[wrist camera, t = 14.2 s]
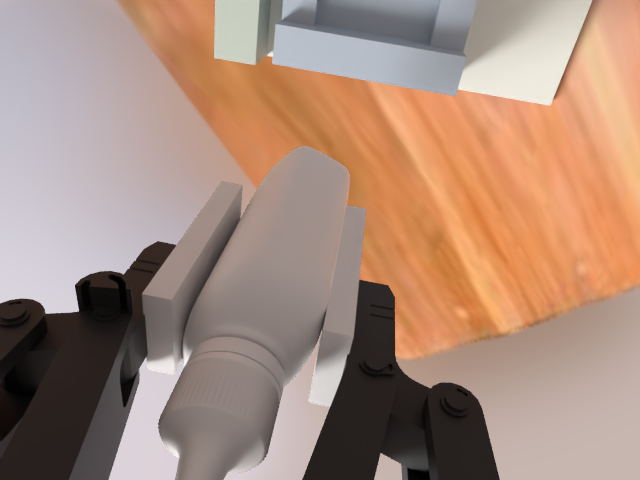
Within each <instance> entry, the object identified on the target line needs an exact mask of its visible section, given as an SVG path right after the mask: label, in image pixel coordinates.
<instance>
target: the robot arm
mask: <svg viewBox="0 0 640 480" xmlns="http://www.w3.org/2000/svg"><path fill="white" fill-rule="evenodd" d="M241 200H242V185H239V184H234V183H228V182H224V181H222V182H221V183H220V185H219V186H218V188H217V189H216V190H215V192H214V193H213V195H212V196H211V197H210V199H209V200H208V202H207V203H206V205H205V206H204V207H203V209H202V210H201V211H200V213H199V214H198V216H197V217H196V219H195V220H194V222H193V223H192V224H191V225H190V227H189V228H188V230H187V231H186V233H185V234H184V235H183V237H182V238H181V240H180V241H179V242H178V244H177V245H174V244H168V243H164V242H159V241H158V242H156V243H154V244H152V245H150V246H149V247H147V248H145V249H144V250H143V251H142V252H141V254H140V255H139V256H138V257H137V259H136V261H134V262H133V264H132V265H131V266H130V269H128V270H127V271H126V273H125V274H124V275H123V274H121V273H117V272H112V271H104V272H97V273H94V274H90V275H88V276H86V277H84V278H82V279H80V281H79V282H78V283H77V284H76V285H75V288H76V295H77V301H78V306H79V312H73V313H55V314H45V309H44V308H43V306H42V305H41V304H40V303H39V302H36V301H34V300H31V299H15V300H9V301H6V302H3V303H1V304H0V480H108V479H109V476H110V472H111V470H112V466H113V463H114V460H115V457H116V454H117V451H118V447H119V444H120V441H121V438H122V434H123V432H124V428H125V425H126V422H127V419H128V416H129V413H130V410H131V406H132V403H133V400H134V397H135V394H136V391H137V387H138V384H139V368H140V366H141V364H142V363H143V361H144V359H145V358H146V357H147V369H148V370H152V371H157V372H161V373H166V374H171V375H174V374H175V372H176V370H177V368H178V366H179V364H180V362H181V360H182V358H183V355H182V345H183V337H184V332H185V327H186V324H187V321H188V318H189V315H190V313H191V310H192V308H193V306H194V304H195V302H196V300H197V298H198V296H199V294H200V292H201V291H202V289H203V287H204V285H205V283H206V281H207V279H208V278H209V276H210V274H211V272H212V270H213V268H214V267H215V265H216V263H217V261H218V259H219V257H220V256H221V254H222V252H223V250H224V248H225V246H226V245H227V243H228V241H229V239H230V237H231V235H232V234H233V232H234V230H235V228H236V226H237V225H238V223H239V221H240V215H241ZM365 216H366V209H364V208H359V207H354V206H349V205H346V211H345V217H344V223H343V228H342V234H341V240H340V245H339V251H338V257H337V262H336V268H335V274H334V279H333V284H332V289H331V294H330V299H329V302H328V305H327V310H326V315H325V320H324V324H323V328H322V331H321V336H320V341H319V347H318V352H317V357H316V363H315V368H314V374H313V379H312V385H311V390H310V396H309V402H308V403H313V404H318V405H323V406H328V407H330V409H329V412H328V414H327V417H326V419H325V422H324V425H323V427H322V430H321V433H320V435H319V438H318V440H317V443H316V446H315V448H314V451H313V453H312V456H311V459H310V461H309V464H308V466H307V469H306V472H305V474H304V477H303V479H302V480H374V477H375V473H376V468H377V465H378V461H379V457H380V453H382V454H384V455H386V456H388V457H390V458H391V459H393V460H395V461H397V462H399V463H401V465H402V480H500V479H499V475H498V471H497V467H496V463H495V459H494V455H493V451H492V447H491V443H490V439H489V434H488V430H487V426H486V423H485V418H484V415H483V411H482V408H481V405H480V403H479V401H478V399H477V398H476V397H475V396H474V395H473V394H472V393H471V392H470V391H468V390H467V389H465V388H463V387H462V386H460V385H457V384H453V383H439V384H437V385H434V386H433V387H432V388H431V389H430V388H428V387H426V386H424V385H422V384H420V383H418V382H416V381H414V380H412V379H411V378H409V377H408V376H407V375H405V374H404V373H403V371H402V370H401V369H400V368H399V366H398V364H397V362H396V357H395V321H394V320H395V311H394V310H395V297H394V295H393V293H392V291H391V290H390V288H389V286H388V285H383V284H378V283H373V282H368V281H363V280H359V277H360V267H361V257H362V246H363V236H364V226H365Z"/></svg>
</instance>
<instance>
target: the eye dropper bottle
mask: <svg viewBox="0 0 640 480" xmlns="http://www.w3.org/2000/svg"><path fill="white" fill-rule="evenodd" d="M349 187H350V175H349V172H348V169H347V168H346V167H345V166H344V165H342V164H341V163H339V162H337V161H336V160H334V159H332V158H330V157H329V156H327V155H325V154H323V153H321V152H319V151H317V150H316V149H314V148H311V147H307V146H301V147H297V148H295V149H294V150H292V151H291V152H289V153H288V154H287V155H286V156H284V157H283V158H282V159H281V160H280V161H279V162H278V163H277V164H276V165H275V166H274V167H273V168H272V169H271V170H270V171H269V172H268V173H267V175H266V176H265V177H264V179H263V180H262V182H261V183H260V185H259V186H258V188H257V190H256V192H255V193H254V196H253V197H252V199H251V201H250V203H249V204H248V206H247V208H246V210H245V212H244V214H243V216H242V217H241V219H240V221H239V223H238V225H237V226H236V228H235V230H234V232H233V234H232V235H231V237H230V239H229V241H228V243H227V245H226V246H225V248H224V250H223V252H222V254H221V256H220V257H219V259H218V261H217V263H216V265H215V267H214V268H213V270H212V272H211V274H210V276H209V278H208V279H207V281H206V283H205V285H204V287H203V289H202V291H201V292H200V294H199V296H198V298H197V300H196V302H195V304H194V306H193V308H192V310H191V313H190V315H189V318H188V321H187V324H186V327H185V332H184V337H183V345H182V355H183V364H184V369H183V371H182V373H181V375H180V377H179V379H178V381H177V384H176V385H175V388H174V390H173V392H172V394H171V396H170V398H169V400H168V402H167V404H166V406H165V408H164V410H163V412H162V414H161V416H160V419H159V423H158V425H159V427H158V428H159V433H160V436H161V439H162V441H163V443H164V444H165V446H166V447H167V448H168V450H169V451H170V452H171V453H172V454H173V455H175V456H176V457H177V458H178V459H179V462H178V469H177V473H176V478H175V480H223V479H224V478H225V476H226V474H236V473H241V472H245V471H248V470H250V469H252V468H254V467H256V466H257V465H259V464H260V463H261V462H262V461H263V460H264V458H265V457H266V455H267V453H268V449H269V445H270V441H271V437H272V433H273V429H274V424H275V420H276V416H277V412H278V408H279V404H280V400H281V396H282V391H283V388H284V386H286V385H287V384H288V383H289V382H290V381H291V380H292V379H293V378H294V377H295V376H296V375H297V374H298V372H299V371H300V370H301V369H302V367H303V366H304V365H305V363H306V361H307V360H308V359H309V357H310V355H311V353H312V351H313V349H314V348H315V345H316V343H317V341H318V339H319V336H320V333H321V331H322V328H323V324H324V320H325V315H326V310H327V305H328V302H329V299H330V294H331V289H332V284H333V279H334V274H335V268H336V262H337V257H338V251H339V245H340V240H341V234H342V228H343V223H344V217H345V211H346V205H347V199H348V193H349Z"/></svg>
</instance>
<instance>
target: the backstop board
mask: <svg viewBox="0 0 640 480" xmlns="http://www.w3.org/2000/svg"><path fill="white" fill-rule="evenodd" d="M591 3H592V0H478V2H477V5H476V9H475V12H474V16H473V19H472V23H471V26H470V30H469V33H468V37H467V40H466V44H465V47H464V51H463V52H464V54H465V55H466V57H467V58H466V62H465V65H464V69H463V72H462V76H461V79H460V82H459V86H458V89H459V90H465V91H470V92H476V93H482V94H487V95H493V96H499V97H504V98H510V99H516V100H521V101H527V102H533V103H538V104H544V105H551V103H552V100H553V98H554V95H555V93H556V90H557V88H558V85H559V83H560V80H561V78H562V75H563V73H564V70H565V68H566V65H567V63H568V60H569V58H570V55H571V53H572V50H573V48H574V45H575V43H576V40H577V38H578V35H579V33H580V30H581V28H582V25H583V23H584V20H585V18H586V15H587V13H588V10H589V8H590V5H591ZM282 8H283V0H215V42H214V58H218V59H224V60H229V61H235V62H241V63H246V64H252V65H256V64H257V63H258V62H260V61H261V60H262V59H263V58H264V57H266V56H272V57H273V50H274V38H275V26H276V23H278V22H280V21H281V19H282Z"/></svg>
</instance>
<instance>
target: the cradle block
mask: <svg viewBox="0 0 640 480" xmlns="http://www.w3.org/2000/svg"><path fill="white" fill-rule="evenodd" d="M477 2H478V0H283V8H282V19H281V21H280V22H278V23H276V26H275V38H274V50H273V62H272V64H277V65H282V66H288V67H294V68H299V69H305V70H310V71H316V72H322V73H327V74H333V75H339V76H344V77H350V78H356V79H361V80H367V81H373V82H378V83H384V84H390V85H395V86H401V87H407V88H412V89H418V90H423V91H429V92H435V93H440V94H446V95H452V96H456V93H457V89H458V86H459V82H460V79H461V76H462V72H463V69H464V65H465V62H466V58H467V57H466V55H465V54H464V52H463V51H464V47H465V44H466V40H467V37H468V33H469V30H470V26H471V23H472V19H473V16H474V12H475V9H476V5H477Z"/></svg>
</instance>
